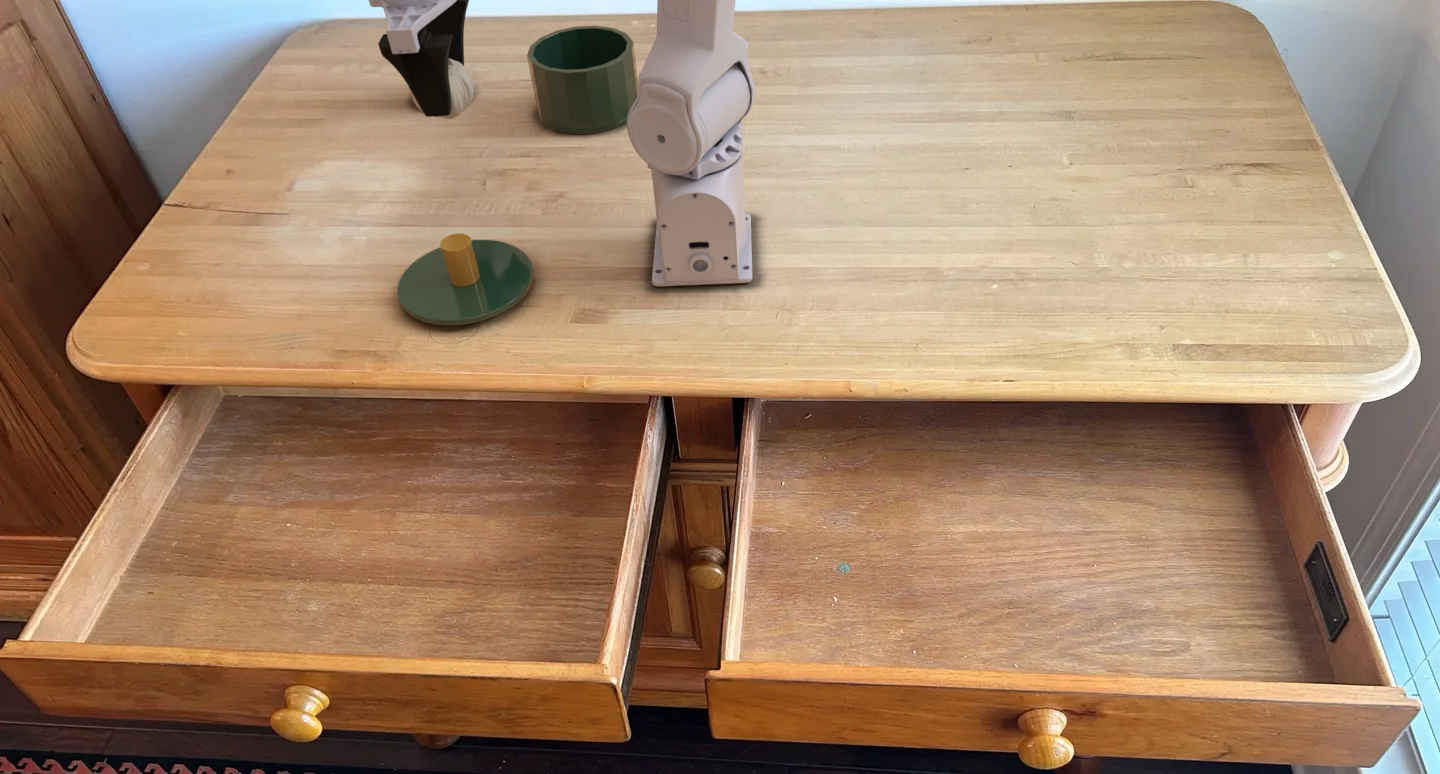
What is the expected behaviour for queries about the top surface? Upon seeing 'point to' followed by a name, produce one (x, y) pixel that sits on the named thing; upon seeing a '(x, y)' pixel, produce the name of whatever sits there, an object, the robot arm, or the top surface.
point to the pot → (583, 78)
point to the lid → (465, 281)
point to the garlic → (457, 89)
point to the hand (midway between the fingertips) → (445, 96)
